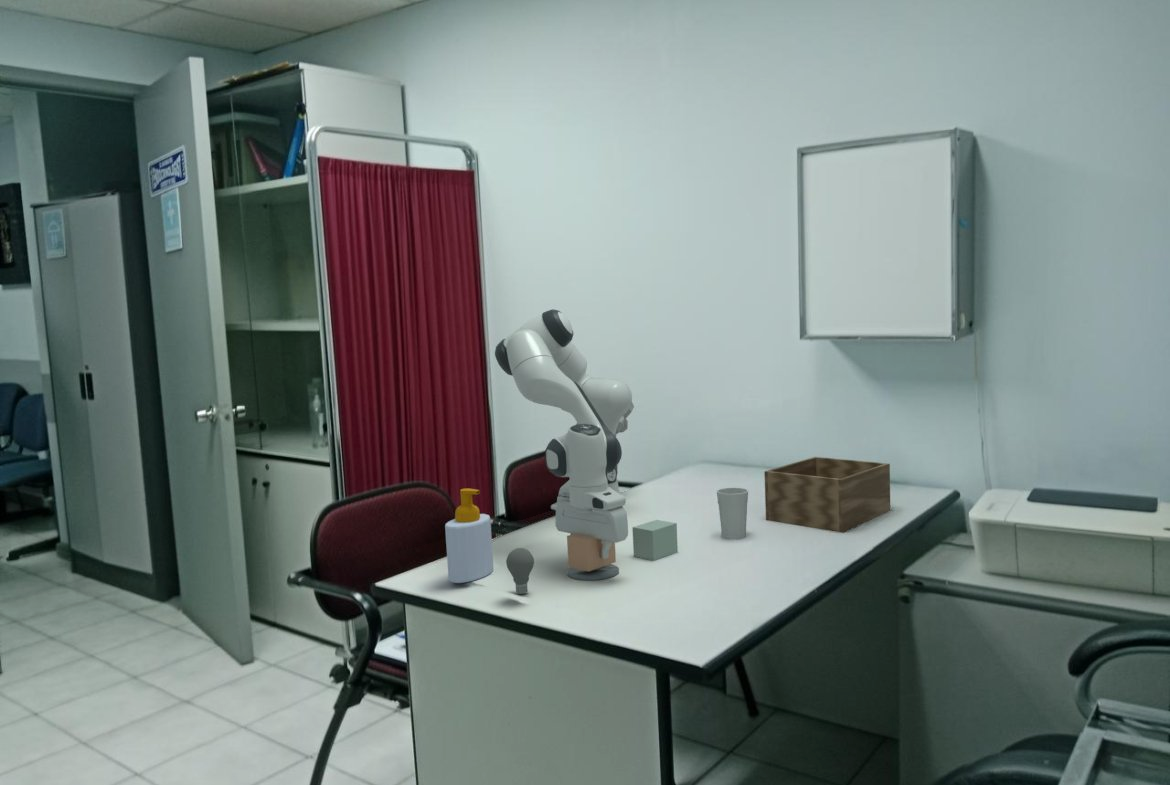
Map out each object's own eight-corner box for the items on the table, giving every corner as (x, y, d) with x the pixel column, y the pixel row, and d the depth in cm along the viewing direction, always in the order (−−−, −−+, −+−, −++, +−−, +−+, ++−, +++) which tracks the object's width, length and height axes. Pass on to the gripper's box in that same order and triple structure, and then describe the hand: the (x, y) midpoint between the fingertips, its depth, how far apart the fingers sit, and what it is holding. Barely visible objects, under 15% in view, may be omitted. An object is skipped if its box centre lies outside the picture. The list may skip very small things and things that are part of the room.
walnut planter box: (765, 522, 250) (764, 471, 248) (815, 504, 268) (814, 456, 267) (842, 534, 233) (841, 480, 232) (890, 514, 252) (889, 463, 250)
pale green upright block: (633, 556, 223) (632, 527, 222) (657, 548, 229) (656, 519, 228) (653, 560, 218) (652, 530, 218) (677, 552, 225) (676, 523, 224)
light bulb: (508, 590, 201) (505, 545, 200) (535, 588, 202) (532, 543, 201) (508, 599, 195) (505, 553, 194) (536, 596, 196) (533, 550, 195)
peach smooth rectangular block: (568, 566, 210) (566, 536, 209) (595, 557, 216) (594, 527, 216) (588, 571, 206) (586, 540, 205) (615, 562, 212) (614, 531, 211)
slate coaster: (556, 574, 211) (555, 572, 211) (592, 562, 219) (592, 559, 219) (593, 583, 203) (593, 581, 203) (629, 570, 211) (629, 568, 211)
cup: (749, 540, 232) (747, 493, 231) (717, 540, 233) (715, 494, 232) (750, 532, 240) (748, 487, 238) (719, 532, 241) (717, 487, 240)
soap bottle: (466, 585, 206) (461, 496, 204) (439, 581, 210) (433, 494, 208) (502, 569, 217) (497, 485, 215) (475, 565, 221) (470, 483, 220)
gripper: (547, 493, 214) (550, 551, 216) (611, 503, 200) (614, 565, 201) (566, 488, 219) (569, 545, 220) (631, 498, 204) (633, 559, 206)
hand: (591, 555), depth 211 cm, fingers closed on peach smooth rectangular block, 6 cm apart
